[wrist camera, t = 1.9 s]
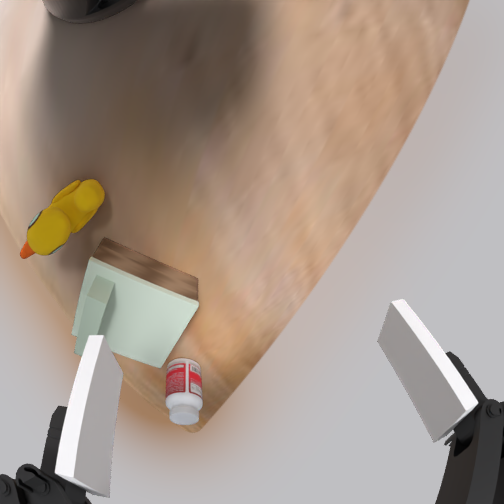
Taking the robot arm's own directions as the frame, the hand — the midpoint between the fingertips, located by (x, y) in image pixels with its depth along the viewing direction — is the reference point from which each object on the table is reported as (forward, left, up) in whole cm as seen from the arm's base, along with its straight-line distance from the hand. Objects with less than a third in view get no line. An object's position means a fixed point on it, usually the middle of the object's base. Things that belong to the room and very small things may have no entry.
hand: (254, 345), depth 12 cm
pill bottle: (+10, -32, -25) cm, 42 cm away
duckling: (-15, -10, -25) cm, 31 cm away
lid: (-3, -20, -20) cm, 28 cm away
